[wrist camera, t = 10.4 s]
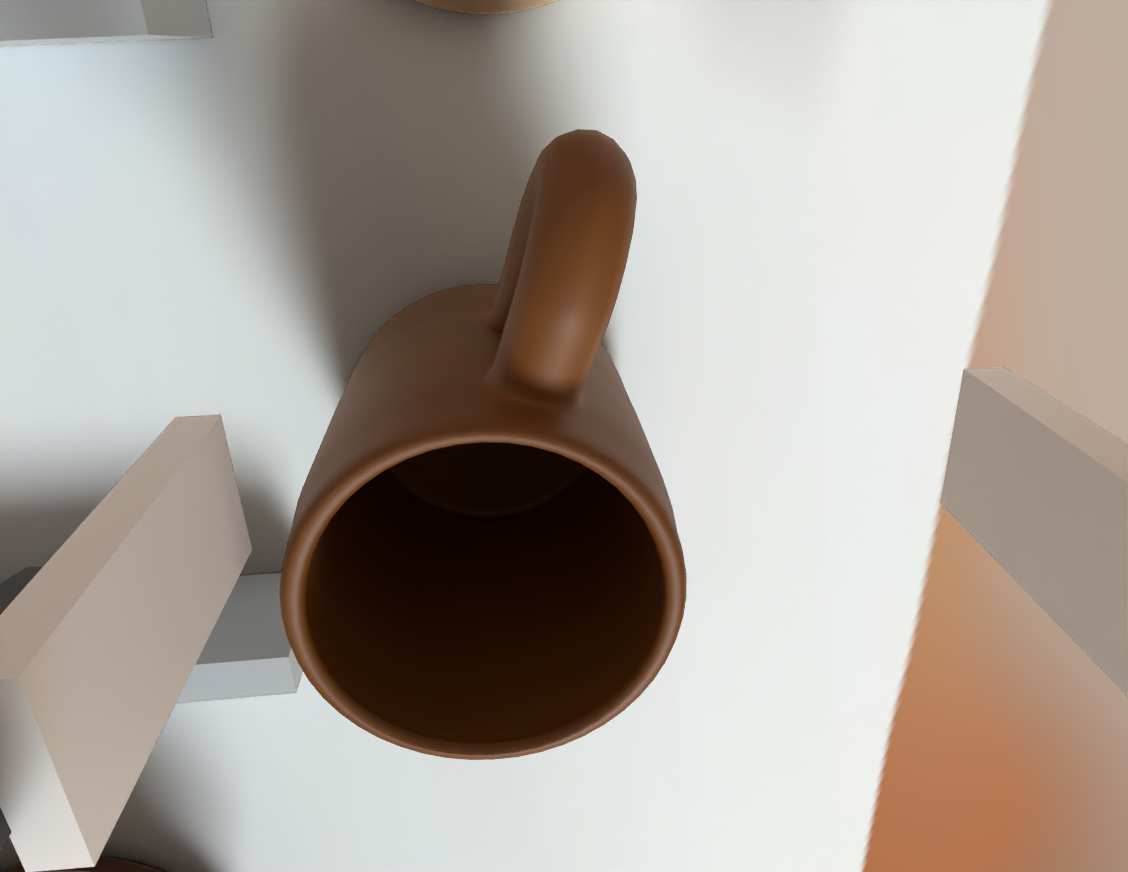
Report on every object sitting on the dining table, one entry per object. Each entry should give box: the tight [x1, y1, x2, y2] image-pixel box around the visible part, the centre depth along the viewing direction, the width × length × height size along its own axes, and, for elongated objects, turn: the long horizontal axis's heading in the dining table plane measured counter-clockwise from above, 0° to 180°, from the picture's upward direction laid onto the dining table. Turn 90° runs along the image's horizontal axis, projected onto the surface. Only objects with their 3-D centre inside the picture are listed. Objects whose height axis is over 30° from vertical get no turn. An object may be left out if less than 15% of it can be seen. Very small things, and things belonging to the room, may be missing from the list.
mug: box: [279, 129, 686, 760], centre depth 18 cm, size 12×8×9 cm, turn 165°
